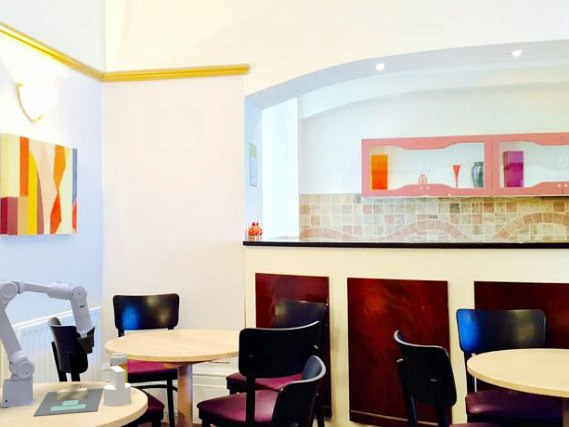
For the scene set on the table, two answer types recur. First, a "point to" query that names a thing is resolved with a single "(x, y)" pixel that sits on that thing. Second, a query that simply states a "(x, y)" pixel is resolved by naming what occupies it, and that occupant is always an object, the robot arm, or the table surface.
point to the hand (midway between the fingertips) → (90, 350)
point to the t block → (72, 393)
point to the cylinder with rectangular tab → (117, 388)
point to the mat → (69, 404)
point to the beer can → (119, 362)
